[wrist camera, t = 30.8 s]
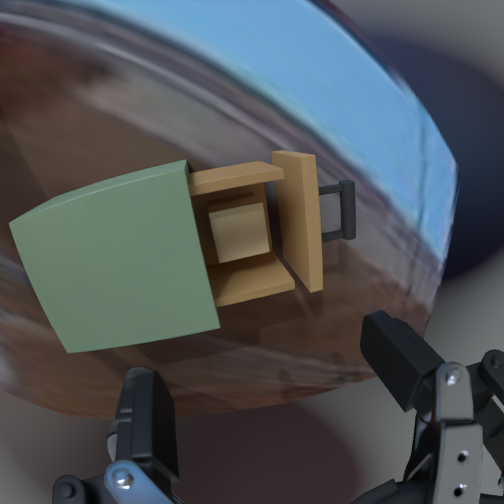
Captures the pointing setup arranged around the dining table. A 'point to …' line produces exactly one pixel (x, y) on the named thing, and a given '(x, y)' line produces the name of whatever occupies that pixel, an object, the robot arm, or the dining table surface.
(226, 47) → the dining table surface
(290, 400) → the dining table surface
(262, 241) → the block
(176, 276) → the cabinet
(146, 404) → the robot arm
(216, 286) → the drawer
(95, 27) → the dining table surface
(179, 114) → the dining table surface
